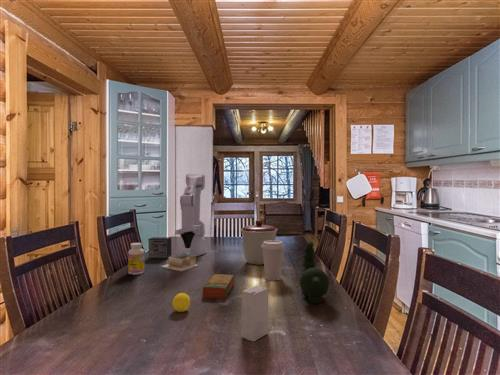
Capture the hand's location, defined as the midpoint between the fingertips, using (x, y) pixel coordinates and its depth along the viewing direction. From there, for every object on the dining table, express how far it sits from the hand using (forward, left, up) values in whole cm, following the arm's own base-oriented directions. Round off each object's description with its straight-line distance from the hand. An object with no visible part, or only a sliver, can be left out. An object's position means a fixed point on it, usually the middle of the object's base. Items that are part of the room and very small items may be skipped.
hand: (187, 247), depth 160 cm
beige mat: (+5, 0, -8) cm, 10 cm away
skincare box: (+45, +67, -8) cm, 81 cm away
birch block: (-1, 0, -5) cm, 5 cm away
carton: (+22, +37, -9) cm, 44 cm away
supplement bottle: (+23, -8, -8) cm, 26 cm away
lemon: (+43, +39, -8) cm, 59 cm away
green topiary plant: (+9, +68, -8) cm, 69 cm away
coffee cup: (-2, +46, -8) cm, 47 cm away
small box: (-3, -22, -8) cm, 24 cm away
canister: (-22, +27, -8) cm, 35 cm away
